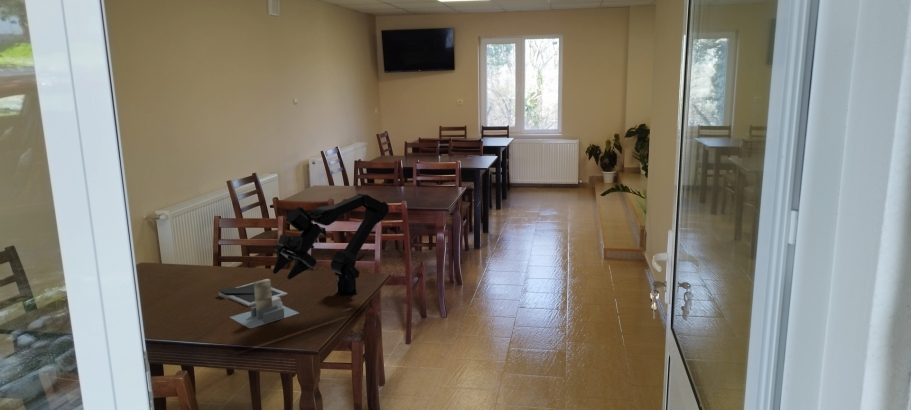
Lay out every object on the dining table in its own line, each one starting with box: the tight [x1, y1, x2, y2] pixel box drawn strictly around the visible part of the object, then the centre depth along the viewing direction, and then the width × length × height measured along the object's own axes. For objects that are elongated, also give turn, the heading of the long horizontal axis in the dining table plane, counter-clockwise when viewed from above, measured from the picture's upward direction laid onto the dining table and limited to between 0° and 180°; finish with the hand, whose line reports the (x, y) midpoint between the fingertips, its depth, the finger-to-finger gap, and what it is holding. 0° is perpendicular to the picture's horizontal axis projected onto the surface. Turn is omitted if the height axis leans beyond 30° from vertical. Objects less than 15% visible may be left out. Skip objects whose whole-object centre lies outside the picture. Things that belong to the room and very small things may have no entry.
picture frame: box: [218, 282, 288, 308], centre depth 223 cm, size 16×3×21 cm
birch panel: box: [253, 278, 272, 316], centre depth 202 cm, size 5×2×12 cm, turn 136°
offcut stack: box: [272, 296, 284, 307], centre depth 210 cm, size 5×4×3 cm
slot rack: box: [229, 305, 299, 329], centre depth 203 cm, size 18×14×4 cm
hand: (280, 276), depth 205 cm, fingers open, 9 cm apart
